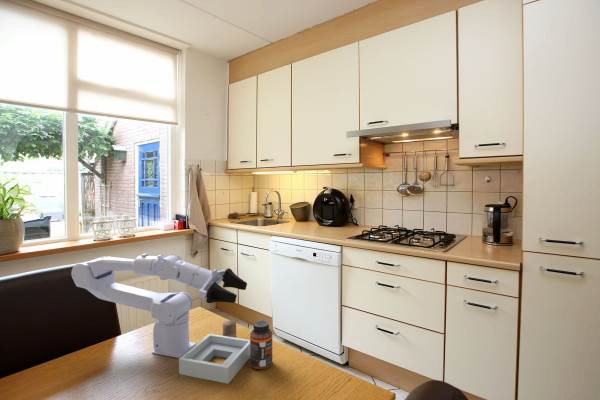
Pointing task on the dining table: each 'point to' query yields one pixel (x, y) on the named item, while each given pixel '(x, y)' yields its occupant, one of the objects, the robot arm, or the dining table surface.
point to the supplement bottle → (261, 346)
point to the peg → (229, 329)
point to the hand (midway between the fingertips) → (241, 292)
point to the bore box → (219, 346)
